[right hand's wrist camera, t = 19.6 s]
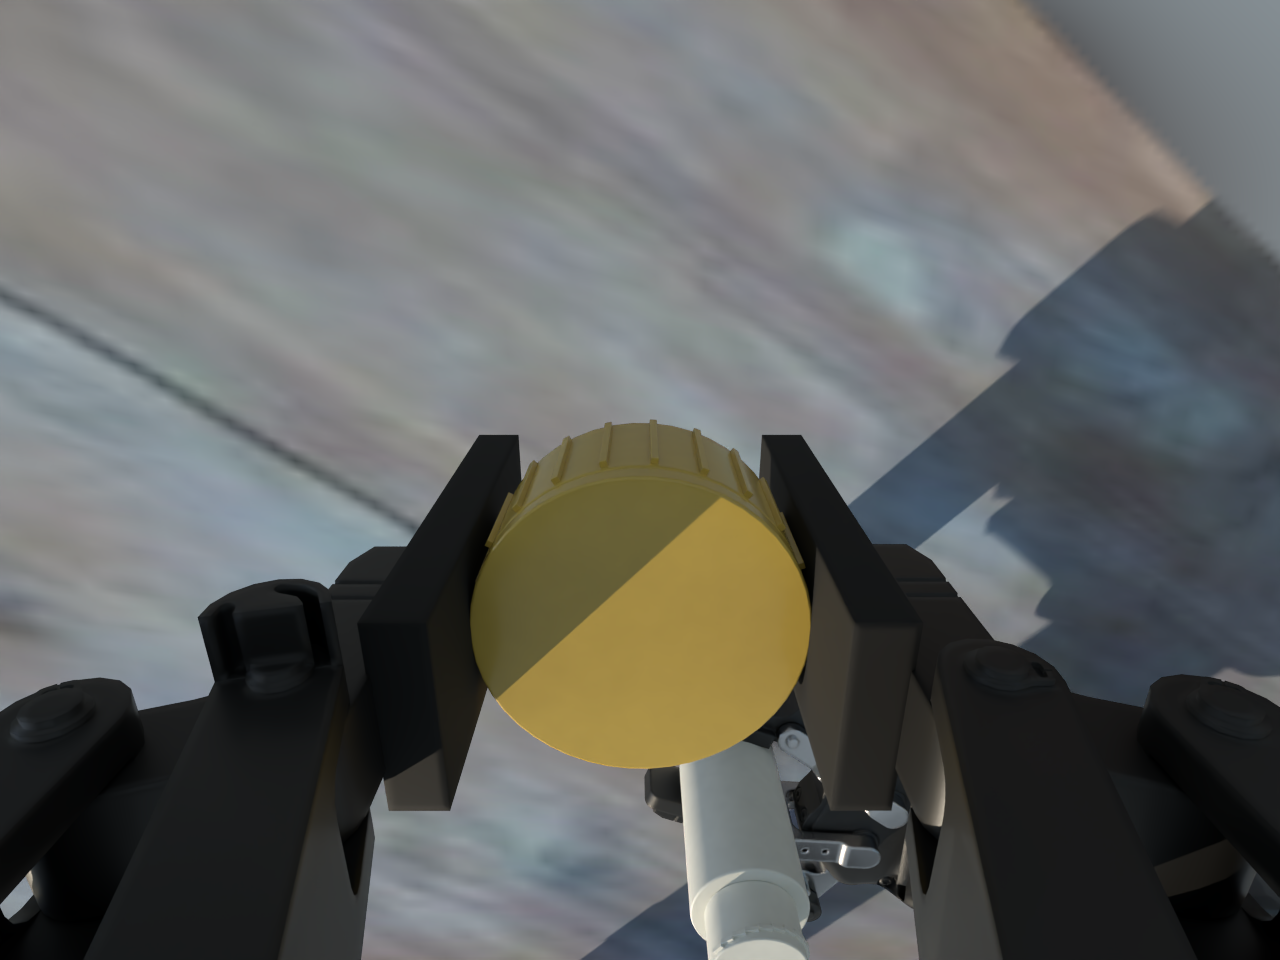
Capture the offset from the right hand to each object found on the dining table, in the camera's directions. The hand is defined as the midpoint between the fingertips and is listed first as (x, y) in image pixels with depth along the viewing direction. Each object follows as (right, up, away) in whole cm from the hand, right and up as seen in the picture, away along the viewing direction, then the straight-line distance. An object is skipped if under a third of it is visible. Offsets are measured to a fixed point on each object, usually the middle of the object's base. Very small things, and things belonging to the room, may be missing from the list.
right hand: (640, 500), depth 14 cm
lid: (0, -2, -4) cm, 4 cm away
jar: (+4, -9, +24) cm, 26 cm away
